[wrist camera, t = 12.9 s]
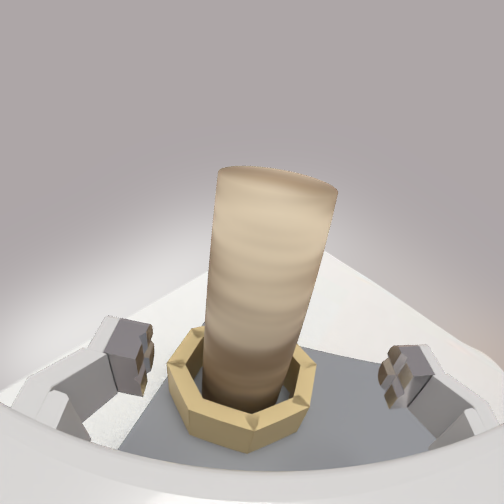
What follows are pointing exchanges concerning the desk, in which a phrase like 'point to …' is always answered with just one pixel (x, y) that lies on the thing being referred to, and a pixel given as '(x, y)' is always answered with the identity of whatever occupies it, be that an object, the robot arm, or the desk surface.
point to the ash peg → (260, 280)
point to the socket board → (320, 432)
